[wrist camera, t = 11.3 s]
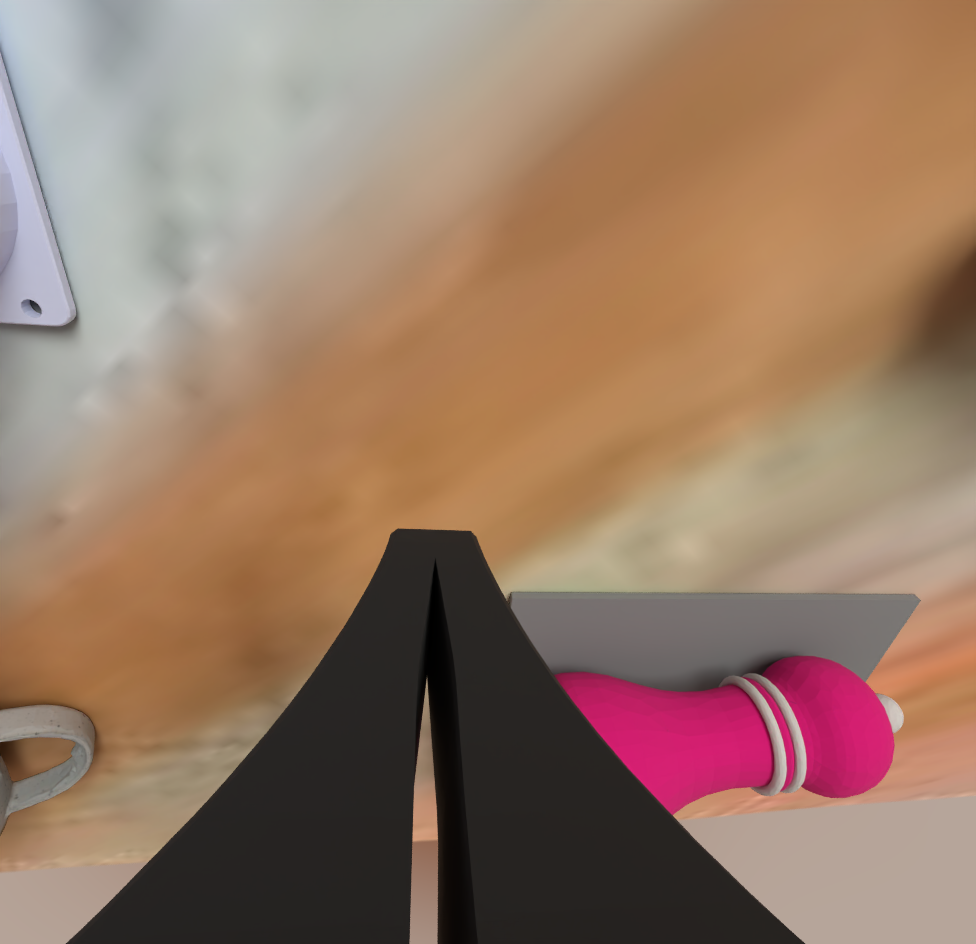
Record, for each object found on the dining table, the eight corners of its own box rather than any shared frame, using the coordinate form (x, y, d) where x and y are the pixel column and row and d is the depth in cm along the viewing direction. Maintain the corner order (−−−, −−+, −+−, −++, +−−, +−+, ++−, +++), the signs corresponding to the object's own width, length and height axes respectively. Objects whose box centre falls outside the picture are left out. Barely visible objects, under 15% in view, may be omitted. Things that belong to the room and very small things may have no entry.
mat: (483, 772, 31) (484, 779, 31) (511, 592, 24) (512, 598, 23) (803, 761, 33) (806, 767, 33) (914, 594, 26) (921, 600, 26)
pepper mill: (474, 749, 28) (823, 699, 31) (496, 912, 22) (934, 833, 24) (470, 650, 25) (863, 602, 27) (493, 808, 18) (1004, 727, 21)
